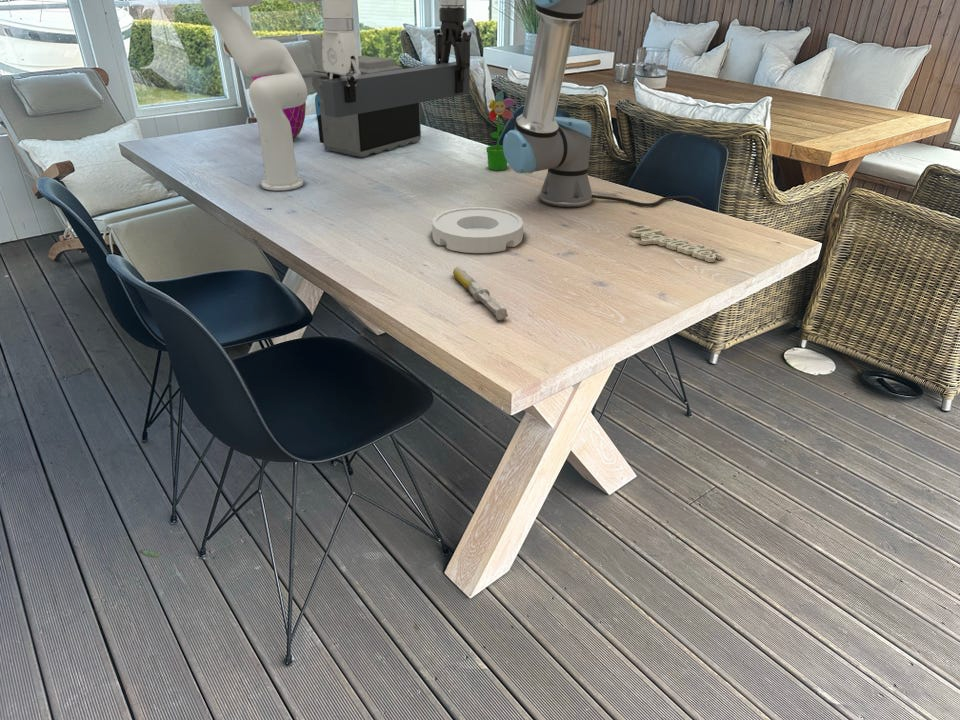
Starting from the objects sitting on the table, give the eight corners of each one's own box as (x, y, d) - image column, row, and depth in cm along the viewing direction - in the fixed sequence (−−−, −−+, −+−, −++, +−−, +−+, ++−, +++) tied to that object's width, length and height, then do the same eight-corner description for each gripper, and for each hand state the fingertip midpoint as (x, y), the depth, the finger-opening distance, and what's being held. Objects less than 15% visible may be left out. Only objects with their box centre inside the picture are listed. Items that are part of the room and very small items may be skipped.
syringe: (449, 274, 155) (449, 263, 153) (465, 272, 156) (464, 260, 154) (490, 323, 135) (491, 310, 133) (508, 319, 136) (508, 307, 134)
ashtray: (436, 220, 186) (436, 206, 184) (521, 222, 186) (522, 207, 184) (428, 252, 166) (427, 236, 164) (523, 254, 166) (524, 238, 164)
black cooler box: (383, 133, 276) (378, 52, 261) (425, 141, 265) (422, 56, 250) (314, 150, 251) (304, 61, 235) (358, 160, 240) (350, 67, 224)
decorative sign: (617, 232, 177) (640, 223, 183) (616, 235, 177) (640, 227, 183) (706, 262, 160) (729, 252, 166) (705, 266, 160) (728, 255, 166)
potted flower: (491, 172, 228) (493, 92, 215) (480, 166, 234) (481, 88, 221) (516, 168, 232) (519, 90, 219) (504, 163, 238) (506, 86, 225)
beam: (458, 91, 217) (458, 61, 212) (469, 93, 214) (469, 63, 209) (324, 115, 185) (321, 80, 180) (335, 118, 182) (332, 82, 177)
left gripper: (306, 23, 178) (313, 97, 187) (347, 29, 168) (352, 107, 177) (330, 22, 182) (336, 94, 192) (371, 27, 173) (375, 103, 182)
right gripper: (421, 5, 203) (423, 89, 215) (465, 9, 192) (465, 96, 204) (439, 4, 207) (441, 86, 219) (483, 8, 197) (482, 93, 209)
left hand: (344, 99), depth 184 cm, fingers closed on beam, 5 cm apart
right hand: (452, 91), depth 212 cm, fingers closed on beam, 5 cm apart
